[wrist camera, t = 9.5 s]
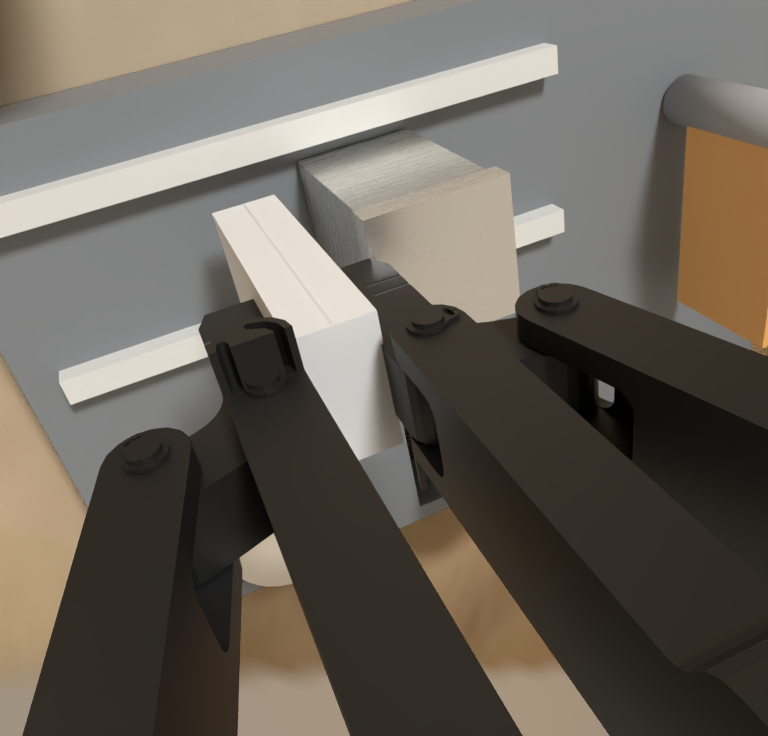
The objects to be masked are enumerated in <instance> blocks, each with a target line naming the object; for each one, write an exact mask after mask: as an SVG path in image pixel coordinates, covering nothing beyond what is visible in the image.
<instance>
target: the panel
mask: <svg viewBox="0 0 768 736" xmlns="http://www.w3.org/2000/svg"><path fill="white" fill-rule="evenodd" d="M685 74H692V75H697V76H702V77H708V78H713V79H718V80H723V81H728V82H733V83H738V84H743V85H748V86H753V87H758V88H764V89H768V0H414V1H411V2H407V3H403V4H399V5H395V6H391V7H387V8H383V9H379V10H375V11H372V12H368V13H364V14H360V15H356V16H352V17H348V18H344V19H340V20H336V21H333V22H329V23H325V24H321V25H317V26H313V27H309V28H305V29H301V30H298V31H294V32H290V33H286V34H282V35H278V36H274V37H270V38H266V39H262V40H259V41H255V42H251V43H247V44H243V45H239V46H235V47H231V48H227V49H223V50H220V51H216V52H212V53H208V54H204V55H200V56H196V57H192V58H188V59H184V60H181V61H177V62H173V63H169V64H165V65H161V66H157V67H153V68H149V69H145V70H142V71H138V72H134V73H130V74H126V75H122V76H118V77H114V78H110V79H107V80H103V81H99V82H95V83H91V84H87V85H83V86H79V87H75V88H71V89H68V90H64V91H60V92H56V93H52V94H48V95H44V96H40V97H36V98H32V99H29V100H25V101H21V102H17V103H13V104H9V105H5V106H1V107H0V353H1V355H2V357H3V358H4V360H5V362H6V364H7V365H8V367H9V369H10V371H11V372H12V374H13V376H14V378H15V380H16V381H17V383H18V385H19V387H20V388H21V390H22V392H23V394H24V396H25V397H26V399H27V401H28V403H29V404H30V406H31V408H32V410H33V411H34V413H35V415H36V417H37V419H38V420H39V422H40V424H41V426H42V427H43V429H44V431H45V433H46V434H47V436H48V438H49V440H50V442H51V443H52V445H53V447H54V449H55V450H56V452H57V454H58V456H59V458H60V459H61V461H62V463H63V465H64V466H65V468H66V470H67V472H68V473H69V475H70V477H71V479H72V481H73V482H74V484H75V486H76V488H77V489H78V491H79V493H80V495H81V496H82V498H83V500H84V502H85V504H86V505H87V507H89V504H90V500H91V497H92V493H93V490H94V486H95V483H96V479H97V476H98V473H99V469H100V466H101V465H102V463H103V461H104V459H105V457H106V456H107V454H109V453H110V452H111V451H112V450H113V449H114V448H115V447H116V446H117V445H118V444H119V443H121V442H123V441H124V440H126V439H127V438H130V437H131V436H133V435H135V434H137V433H141V432H144V431H147V430H150V429H156V428H166V427H169V428H174V429H179V430H182V431H183V432H184V433H185V434H186V435H188V436H191V435H192V434H194V433H195V432H197V431H198V430H200V429H201V428H203V427H204V426H206V425H207V424H208V423H209V422H210V421H211V420H212V419H213V418H214V417H215V416H216V415H217V413H218V411H219V410H220V408H221V405H222V402H223V397H222V393H221V390H220V387H219V385H218V382H217V379H216V377H215V374H214V371H213V368H212V366H211V363H210V360H209V358H208V355H207V352H206V349H205V347H204V344H203V341H202V339H201V336H200V333H199V330H198V329H199V327H200V325H201V322H202V320H203V317H204V315H206V314H209V313H212V312H215V311H218V310H221V309H224V308H227V307H230V306H233V305H236V304H239V303H240V299H239V296H238V293H237V290H236V287H235V284H234V281H233V278H232V275H231V272H230V268H229V265H228V262H227V259H226V256H225V253H224V250H223V247H222V244H221V240H220V237H219V234H218V231H217V228H216V225H215V222H214V219H213V216H212V213H214V212H218V211H221V210H224V209H228V208H231V207H234V206H238V205H241V204H244V203H248V202H251V201H254V200H258V199H261V198H264V197H268V196H271V195H275V196H276V197H277V198H278V199H279V200H280V201H281V203H282V204H283V205H284V206H285V207H286V208H287V209H288V211H289V212H290V213H291V214H292V215H293V216H294V217H295V218H296V220H297V221H298V222H299V223H300V224H301V225H302V226H303V227H304V229H305V230H306V231H307V232H308V233H309V234H310V235H311V236H312V238H313V239H314V240H315V241H316V242H317V240H316V236H315V232H314V228H313V224H312V220H311V216H310V212H309V208H308V204H307V199H306V195H305V191H304V187H303V183H302V179H301V175H300V171H299V167H298V163H297V161H300V160H303V159H307V158H310V157H314V156H317V155H320V154H324V153H327V152H330V151H334V150H337V149H340V148H344V147H347V146H350V145H354V144H357V143H360V142H364V141H367V140H371V139H374V138H377V137H381V136H384V135H387V134H391V133H394V132H397V131H401V130H404V129H408V130H410V131H412V132H414V133H416V134H418V135H420V136H422V137H424V138H426V139H428V140H430V141H432V142H434V143H435V144H437V145H439V146H441V147H443V148H445V149H447V150H449V151H451V152H453V153H455V154H457V155H459V156H461V157H463V158H465V159H467V160H469V161H471V162H473V163H475V164H477V165H479V166H481V167H483V168H484V169H487V168H491V167H494V166H496V167H498V168H500V169H502V170H504V171H506V172H508V173H510V181H511V193H512V205H513V217H514V230H515V242H516V254H517V266H518V279H519V291H520V296H521V295H522V294H523V293H525V292H526V291H528V290H530V289H533V288H535V287H538V286H540V285H544V284H547V285H548V284H549V283H563V284H574V285H578V286H582V287H586V288H588V289H591V290H593V291H596V292H599V293H601V294H604V295H607V296H609V297H612V298H615V299H617V300H620V301H623V302H625V303H628V304H630V305H633V306H636V307H638V308H641V309H644V310H646V311H649V312H652V313H654V314H657V315H659V316H662V317H665V318H667V319H670V320H673V321H675V322H678V323H681V324H683V325H686V326H688V327H691V328H694V329H696V330H699V331H702V332H704V333H707V334H710V335H712V336H715V337H717V338H720V339H723V340H725V341H728V342H731V343H733V344H736V345H739V346H741V347H744V348H746V349H749V350H751V348H752V343H751V342H750V341H748V340H746V339H744V338H743V337H741V336H739V335H737V334H736V333H734V332H732V331H730V330H728V329H727V328H725V327H723V326H721V325H720V324H718V323H716V322H714V321H712V320H711V319H709V318H707V317H705V316H704V315H702V314H700V313H698V312H697V311H695V310H693V309H691V308H689V307H688V306H686V305H684V304H682V303H681V302H679V301H677V294H678V277H679V259H680V241H681V223H682V206H683V188H684V170H685V152H686V135H687V127H684V126H680V125H677V124H673V123H671V122H669V121H668V120H667V119H666V117H665V115H664V111H663V102H664V98H665V95H666V92H667V90H668V88H669V87H670V85H671V84H672V83H673V82H674V81H675V80H676V79H677V78H679V77H680V76H682V75H685ZM515 317H516V314H515V313H513V314H510V315H508V316H505V317H502V318H500V319H497V320H502V319H509V318H515ZM494 321H496V320H494ZM598 384H599V397H601V398H603V399H605V400H607V401H610V402H614V387H612V386H610V385H608V384H606V383H604V382H602V381H600V380H598ZM399 422H400V427H401V431H402V436H403V441H404V443H402V444H399V445H397V446H394V447H392V448H389V449H387V450H384V451H382V452H379V453H377V454H374V455H372V456H369V457H367V458H364V459H361V460H359V462H360V464H361V465H362V467H363V469H364V470H365V472H366V474H367V475H368V477H369V479H370V481H371V482H372V484H373V486H374V487H375V489H376V491H377V492H378V494H379V496H380V497H381V499H382V501H383V502H384V504H385V506H386V507H387V509H388V511H389V512H390V514H391V516H392V517H393V519H394V521H395V522H396V524H397V526H398V528H399V529H400V528H402V527H405V526H407V525H409V524H412V523H414V522H416V521H418V520H421V519H423V518H425V517H428V516H430V515H432V514H435V513H437V512H439V511H442V510H444V509H446V508H449V506H448V504H447V503H446V501H445V500H444V498H443V497H442V496H441V494H440V493H439V491H438V490H437V488H436V487H435V486H434V484H433V483H432V481H431V480H430V478H429V477H428V476H427V477H426V482H427V487H428V489H427V490H424V491H422V490H421V487H420V484H419V479H418V474H417V469H416V464H415V459H414V458H412V459H410V456H409V451H408V446H407V441H406V437H405V432H404V427H403V423H402V422H401V421H400V419H399ZM263 587H265V586H260V585H255V584H252V583H249V582H247V581H245V580H243V579H242V596H244V595H246V594H249V593H251V592H253V591H256V590H258V589H260V588H263Z"/></svg>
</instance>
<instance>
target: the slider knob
mask: <svg viewBox="0 0 768 736" xmlns="http://www.w3.org/2000/svg"><path fill="white" fill-rule="evenodd" d="M297 163H298V167H299V171H300V175H301V179H302V183H303V187H304V191H305V195H306V199H307V204H308V208H309V212H310V216H311V220H312V224H313V228H314V232H315V236H316V240H317V243H318V244H319V245H320V247H321V248H322V249H323V250H324V251H325V252H326V253H327V254H328V256H329V257H330V258H331V259H332V260H333V261H334V262H335V263H336V265H337V266H338V267H339V268H342V267H345V266H348V265H351V264H354V263H357V262H360V261H363V260H366V259H369V258H372V259H375V260H378V261H381V262H385V263H388V264H390V265H391V266H392V267H393V268H394V269H395V270H396V271H397V272H398V273H399V274H400V276H402V277H403V278H404V279H405V280H406V281H408V284H411V285H412V286H413V287H414V288H415V289H416V290H417V291H418V292H419V293H420V294H421V295H422V296H423V297H424V298H425V299H427V300H428V301H429V302H430V303H431V304H432V305H437V304H443V305H449V306H454V307H457V308H459V309H460V310H462V311H464V312H465V313H466V314H468V315H469V316H470V317H471V318H472V319H473V320H474V321H475V322H476V323H480V322H490V321H494V320H497V319H500V318H502V317H505V316H508V315H510V314H513V313H515V304H516V302H517V299H518V297H520V291H519V279H518V266H517V254H516V242H515V230H514V217H513V205H512V193H511V181H510V173H508V172H506V171H504V170H502V169H500V168H498V167H496V166H494V167H491V168H487V169H484V168H483V167H481V166H479V165H477V164H475V163H473V162H471V161H469V160H467V159H465V158H463V157H461V156H459V155H457V154H455V153H453V152H451V151H449V150H447V149H445V148H443V147H441V146H439V145H437V144H435V143H434V142H432V141H430V140H428V139H426V138H424V137H422V136H420V135H418V134H416V133H414V132H412V131H410V130H408V129H404V130H401V131H397V132H394V133H391V134H387V135H384V136H381V137H377V138H374V139H371V140H367V141H364V142H360V143H357V144H354V145H350V146H347V147H344V148H340V149H337V150H334V151H330V152H327V153H324V154H320V155H317V156H314V157H310V158H307V159H303V160H300V161H297Z"/></svg>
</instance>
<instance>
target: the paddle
mask: <svg viewBox="0 0 768 736" xmlns="http://www.w3.org/2000/svg"><path fill="white" fill-rule="evenodd" d="M663 111H664V115H665V117H666V119H667V120H668V121H669V122H671V123H673V124H677V125H680V126H684V127H687V135H686V152H685V170H684V188H683V206H682V223H681V241H680V259H679V277H678V294H677V301H679V302H681V303H682V304H684V305H686V306H688V307H689V308H691V309H693V310H695V311H697V312H698V313H700V314H702V315H704V316H705V317H707V318H709V319H711V320H712V321H714V322H716V323H718V324H720V325H721V326H723V327H725V328H727V329H728V330H730V331H732V332H734V333H736V334H737V335H739V336H741V337H743V338H744V339H746V340H748V341H750V342H751V343H753V344H755V345H757V346H759V347H760V348H762V349H763V348H765V347H767V346H768V89H764V88H758V87H753V86H748V85H743V84H738V83H733V82H728V81H723V80H718V79H713V78H708V77H702V76H697V75H692V74H685V75H682V76H680V77H679V78H677V79H676V80H675V81H674V82H673V83H672V84H671V85H670V87H669V88H668V90H667V92H666V95H665V98H664V102H663Z"/></svg>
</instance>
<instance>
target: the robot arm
mask: <svg viewBox="0 0 768 736" xmlns="http://www.w3.org/2000/svg"><path fill="white" fill-rule="evenodd" d="M212 216H213V219H214V222H215V225H216V228H217V231H218V234H219V237H220V240H221V244H222V247H223V250H224V253H225V256H226V259H227V262H228V265H229V268H230V272H231V275H232V278H233V281H234V284H235V287H236V290H237V293H238V296H239V299H240V303H239V304H236V305H233V306H230V307H227V308H224V309H221V310H218V311H215V312H212V313H209V314H206V315H204V317H203V320H202V322H201V325H200V327H199V329H198V330H199V333H200V336H201V339H202V341H203V344H204V347H205V349H206V352H207V355H208V358H209V360H210V363H211V366H212V368H213V371H214V374H215V377H216V379H217V382H218V385H219V387H220V390H221V393H222V397H223V402H222V405H221V408H220V410H219V411H218V413H217V415H216V416H215V417H214V418H213V419H212V420H211V421H210V422H209V423H208V424H207V425H206V426H204V427H203V428H201V429H200V430H198V431H197V432H195V433H194V434H192V435H191V436H188V435H186V434H185V433H184V432H183V431H182V430H179V429H174V428H169V427H166V428H156V429H150V430H147V431H144V432H141V433H137V434H135V435H133V436H131V437H130V438H127V439H126V440H124V441H123V442H121V443H119V444H118V445H117V446H116V447H115V448H114V449H113V450H112V451H111V452H110V453H109V454H107V456H106V457H105V459H104V461H103V463H102V465H101V466H100V469H99V473H98V476H97V479H96V483H95V486H94V490H93V493H92V497H91V500H90V504H89V507H88V511H87V514H86V518H85V521H84V524H83V528H82V531H81V535H80V538H79V542H78V545H77V549H76V552H75V556H74V559H73V562H72V566H71V569H70V573H69V576H68V580H67V583H66V587H65V590H64V594H63V597H62V601H61V604H60V607H59V611H58V614H57V618H56V621H55V625H54V628H53V632H52V635H51V639H50V642H49V646H48V649H47V652H46V656H45V659H44V663H43V666H42V670H41V673H40V677H39V680H38V684H37V687H36V691H35V694H34V697H33V701H32V704H31V708H30V711H29V715H28V718H27V722H26V725H25V729H24V732H23V736H237V730H238V698H239V697H238V696H239V695H238V694H239V665H240V632H241V599H242V566H241V561H240V557H241V556H243V555H244V554H245V553H247V552H248V551H250V550H251V549H252V548H254V547H255V546H256V545H258V544H259V543H261V542H262V541H263V540H265V539H266V538H268V537H269V536H270V535H272V534H273V533H274V535H275V538H276V540H277V543H278V546H279V548H280V551H281V554H282V556H283V559H284V562H285V564H286V567H287V570H288V572H289V575H290V578H291V580H292V583H293V585H294V588H295V591H296V593H297V596H298V599H299V601H300V604H301V607H302V609H303V612H304V615H305V617H306V620H307V623H308V625H309V628H310V631H311V633H312V636H313V639H314V641H315V644H316V647H317V649H318V652H319V654H320V657H321V660H322V662H323V665H324V668H325V670H326V673H327V676H328V678H329V681H330V684H331V686H332V689H333V691H334V694H335V697H336V700H337V702H338V705H339V707H340V710H341V713H342V715H343V718H344V721H345V724H346V726H347V728H348V731H349V734H350V736H522V734H521V733H520V731H519V729H518V727H517V726H516V724H515V722H514V721H513V719H512V717H511V716H510V714H509V712H508V711H507V709H506V707H505V706H504V704H503V702H502V701H501V699H500V697H499V696H498V694H497V692H496V690H495V689H494V687H493V685H492V684H491V682H490V680H489V679H488V677H487V675H486V674H485V672H484V670H483V669H482V667H481V665H480V664H479V662H478V660H477V659H476V657H475V655H474V653H473V652H472V650H471V648H470V647H469V645H468V643H467V642H466V640H465V638H464V637H463V635H462V633H461V632H460V630H459V628H458V627H457V625H456V623H455V622H454V620H453V618H452V617H451V615H450V613H449V611H448V610H447V608H446V606H445V605H444V603H443V601H442V600H441V598H440V596H439V595H438V593H437V591H436V590H435V588H434V586H433V585H432V583H431V581H430V580H429V578H428V576H427V575H426V573H425V571H424V570H423V568H422V566H421V564H420V563H419V561H418V559H417V558H416V556H415V554H414V553H413V551H412V549H411V548H410V546H409V544H408V543H407V541H406V539H405V538H404V536H403V534H402V533H401V531H400V529H399V528H398V526H397V524H396V522H395V521H394V519H393V517H392V516H391V514H390V512H389V511H388V509H387V507H386V506H385V504H384V502H383V501H382V499H381V497H380V496H379V494H378V492H377V491H376V489H375V487H374V486H373V484H372V482H371V481H370V479H369V477H368V475H367V474H366V472H365V470H364V469H363V467H362V465H361V464H360V462H359V460H361V459H364V458H367V457H369V456H372V455H374V454H377V453H379V452H382V451H384V450H387V449H389V448H392V447H394V446H397V445H399V444H402V443H404V441H403V436H402V431H401V427H400V422H399V419H400V421H401V422H402V423H403V425H404V426H405V428H406V429H407V430H408V432H409V433H410V438H411V444H412V449H413V454H414V459H415V464H416V469H417V474H418V479H419V484H420V487H421V490H422V491H424V490H427V489H428V487H427V482H426V477H427V476H428V477H429V478H430V480H431V481H432V483H433V484H434V486H435V487H436V488H437V490H438V491H439V493H440V494H441V496H442V497H443V498H444V500H445V501H446V503H447V504H448V506H449V507H450V508H451V510H452V511H453V513H454V514H455V516H456V517H457V518H458V520H459V521H460V523H461V524H462V526H463V527H464V528H465V530H466V531H467V533H468V534H469V536H470V537H471V538H472V540H473V541H474V543H475V544H476V546H477V547H478V548H479V550H480V551H481V553H482V554H483V555H484V557H485V558H486V560H487V561H488V563H489V564H490V565H491V567H492V568H493V570H494V571H495V573H496V574H497V575H498V577H499V578H500V580H501V581H502V583H503V584H504V585H505V587H506V588H507V590H508V591H509V593H510V594H511V595H512V597H513V598H514V600H515V601H516V603H517V604H518V605H519V607H520V608H521V610H522V611H523V613H524V614H525V615H526V617H527V618H528V620H529V621H530V623H531V624H532V625H533V627H534V628H535V630H536V631H537V633H538V634H539V635H540V637H541V638H542V640H543V641H544V643H545V644H546V645H547V647H548V648H549V650H550V651H551V653H552V654H553V655H554V657H555V658H556V660H557V661H558V663H559V664H560V665H561V667H562V668H563V670H564V671H565V673H566V674H567V675H568V677H569V678H570V680H571V681H572V683H573V684H574V685H575V687H576V688H577V690H578V691H579V692H580V694H581V695H582V697H583V698H584V699H585V701H586V703H587V704H588V705H589V707H590V708H591V709H592V711H593V712H594V714H595V715H596V717H597V718H598V720H599V721H600V722H601V724H602V725H603V727H604V728H605V730H606V731H607V732H608V734H609V735H610V736H768V356H765V355H762V354H760V353H757V352H754V351H752V350H749V349H746V348H744V347H741V346H739V345H736V344H733V343H731V342H728V341H725V340H723V339H720V338H717V337H715V336H712V335H710V334H707V333H704V332H702V331H699V330H696V329H694V328H691V327H688V326H686V325H683V324H681V323H678V322H675V321H673V320H670V319H667V318H665V317H662V316H659V315H657V314H654V313H652V312H649V311H646V310H644V309H641V308H638V307H636V306H633V305H630V304H628V303H625V302H623V301H620V300H617V299H615V298H612V297H609V296H607V295H604V294H601V293H599V292H596V291H593V290H591V289H588V288H586V287H582V286H578V285H574V284H563V283H549V284H548V285H547V284H544V285H540V286H538V287H535V288H533V289H530V290H528V291H526V292H525V293H523V294H522V295H521V296H520V297H518V299H517V302H516V304H515V314H516V317H515V318H509V319H502V320H496V321H490V322H480V323H476V322H475V321H474V320H473V319H472V318H471V317H470V316H469V315H468V314H466V313H465V312H464V311H462V310H460V309H459V308H457V307H454V306H449V305H443V304H437V305H432V304H431V303H430V302H429V301H428V300H427V299H425V298H424V297H423V296H422V295H421V294H420V293H419V292H418V291H417V290H416V289H415V288H414V287H413V286H412V285H411V284H408V281H406V280H405V279H404V278H403V277H402V276H400V274H399V273H398V272H397V271H396V270H395V269H394V268H393V267H392V266H391V265H390V264H388V263H385V262H381V261H378V260H375V259H372V258H369V259H366V260H363V261H360V262H357V263H354V264H351V265H348V266H345V267H342V268H339V267H338V266H337V265H336V263H335V262H334V261H333V260H332V259H331V258H330V257H329V256H328V254H327V253H326V252H325V251H324V250H323V249H322V248H321V247H320V245H319V244H318V243H317V242H316V241H315V240H314V239H313V238H312V236H311V235H310V234H309V233H308V232H307V231H306V230H305V229H304V227H303V226H302V225H301V224H300V223H299V222H298V221H297V220H296V218H295V217H294V216H293V215H292V214H291V213H290V212H289V211H288V209H287V208H286V207H285V206H284V205H283V204H282V203H281V201H280V200H279V199H278V198H277V197H276V196H275V195H271V196H268V197H264V198H261V199H258V200H254V201H251V202H248V203H244V204H241V205H238V206H234V207H231V208H228V209H224V210H221V211H218V212H214V213H212ZM598 380H600V381H602V382H604V383H606V384H608V385H610V386H612V387H614V402H610V401H607V400H605V399H603V398H601V397H599V384H598Z"/></svg>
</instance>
